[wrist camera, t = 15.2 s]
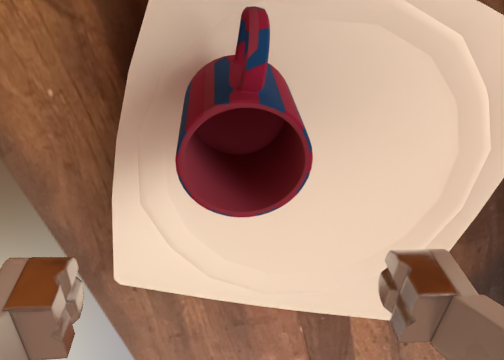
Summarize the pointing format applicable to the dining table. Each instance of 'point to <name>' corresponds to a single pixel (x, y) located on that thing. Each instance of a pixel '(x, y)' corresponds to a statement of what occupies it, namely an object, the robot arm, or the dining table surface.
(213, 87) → the mug
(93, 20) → the dining table surface
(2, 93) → the dining table surface
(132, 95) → the plate
